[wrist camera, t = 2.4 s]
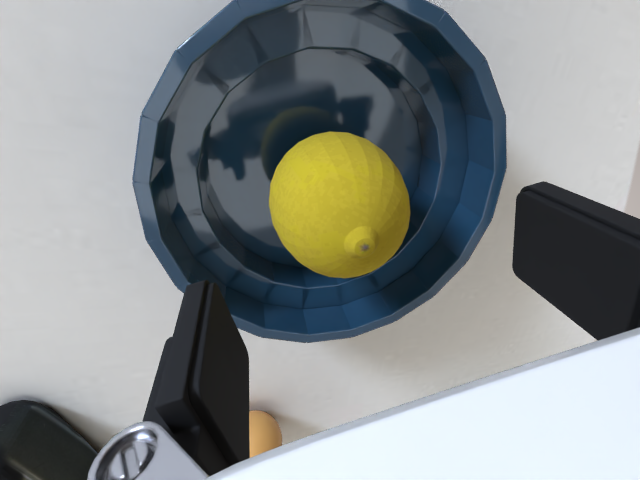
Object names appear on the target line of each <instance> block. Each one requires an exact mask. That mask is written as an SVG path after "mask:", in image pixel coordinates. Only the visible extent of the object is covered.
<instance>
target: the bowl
mask: <svg viewBox="0 0 640 480" xmlns="http://www.w3.org/2000/svg"><path fill="white" fill-rule="evenodd" d="M325 132H347V133H351V134H353V135H356V136H359V137H362V138H365V139H367V140H369V141H370V142H372V143H373V144H375V145H376V146H377V147H379V148H380V149H382V150H383V151H384V152H385V153H386V154H387V155H388V157H389V158H390V159H391V160H392V162H393V163H394V164H395V166H396V167H397V168H398V170H399V171H400V173H401V176H402V178H403V181H404V183H405V186H406V188H407V191H408V194H409V203H410V219H409V226H408V230H407V233H406V235H405V237H404V240H403V242H402V244H401V246H400V247H399V249H398V250H397V251H396V253H395V254H394V255H393V256H392V257H391V258H390V259H389V260H388V261H387V262H386V263H385V264H384V265H382V266H380V267H379V268H377V269H376V270H374V271H372V272H370V273H367V274H364V275H361V276H358V277H351V278H334V277H328V276H325V275H322V274H319V273H316V272H314V271H312V270H310V269H309V268H307V267H306V266H304V265H302V264H301V263H300V262H298V261H297V260H296V259H295V258H294V256H293V255H292V254H291V253H290V252H289V251H288V250H287V249H286V248H285V246H284V245H283V244H282V242H281V240H280V238H279V236H278V234H277V232H276V230H275V228H274V226H273V223H272V218H271V213H270V208H269V194H270V183H271V181H272V178H273V175H274V173H275V170H276V167H277V165H278V164H279V162H280V161H281V160H282V158H283V157H284V155H285V154H286V153H287V152H288V151H289V150H290V149H291V148H292V147H294V146H295V145H296V144H297V143H298V142H300V141H302V140H304V139H306V138H308V137H310V136H312V135H315V134H320V133H325ZM506 168H507V163H506V114H505V111H504V108H503V105H502V102H501V99H500V97H499V94H498V91H497V88H496V85H495V82H494V80H493V77H492V74H491V71H490V68H489V65H488V62H487V60H486V58H485V57H484V55H483V54H482V53H481V52H480V51H479V50H478V48H477V47H476V46H475V45H474V44H473V42H472V41H471V40H470V39H469V38H468V37H467V35H466V34H465V33H464V32H463V31H462V29H461V28H460V27H459V26H458V25H457V23H456V22H455V21H454V20H453V19H452V18H451V16H450V15H449V14H448V13H447V12H446V11H444V9H442V8H440V7H438V6H436V5H434V4H432V3H430V2H428V1H426V0H233V1H231V2H230V3H229V4H228V5H227V6H226V7H224V8H223V9H222V10H221V11H220V12H219V13H217V14H216V15H215V16H214V17H213V18H212V19H210V20H209V21H208V22H207V23H206V24H205V25H203V26H202V27H201V28H200V29H199V30H197V31H196V32H195V33H194V34H193V35H192V36H190V37H189V38H188V39H187V40H186V41H185V42H183V43H182V44H181V45H180V46H179V47H178V48H177V50H175V51H174V53H173V55H172V57H171V59H170V61H169V63H168V64H167V66H166V68H165V70H164V72H163V74H162V76H161V77H160V79H159V81H158V83H157V85H156V87H155V89H154V91H153V92H152V94H151V96H150V98H149V100H148V102H147V104H146V105H145V107H144V109H143V111H142V115H141V116H140V124H139V132H138V140H137V147H136V155H135V163H134V171H133V179H132V180H133V187H134V192H135V196H136V200H137V204H138V209H139V213H140V217H141V221H142V226H143V230H144V234H145V238H146V241H147V243H148V244H149V246H150V247H151V249H152V250H153V252H154V253H155V255H156V257H157V258H158V260H159V261H160V263H161V264H162V266H163V267H164V269H165V271H166V272H167V274H168V275H169V277H170V278H171V280H172V281H173V283H174V284H175V286H177V288H178V289H179V290H180V291H182V292H183V293H185V289H186V286H187V285H190V284H193V283H197V282H200V281H204V280H208V281H209V282H210V284H211V283H216V284H217V285H218V287H219V289H220V291H221V293H222V296H223V298H224V300H225V302H226V304H227V307H228V309H229V311H230V313H231V315H232V318H233V320H234V322H235V324H236V327H237V328H239V329H241V330H244V331H246V332H248V333H251V334H253V335H256V336H258V337H262V338H270V339H278V340H286V341H294V342H302V343H306V342H307V343H311V342H319V341H328V340H336V339H344V338H351V337H355V336H358V335H360V334H363V333H366V332H369V331H371V330H374V329H377V328H380V327H382V326H385V325H388V324H390V323H393V322H395V321H397V320H398V319H400V318H402V317H403V316H405V315H406V314H408V313H409V312H411V311H412V310H414V309H415V308H417V307H418V306H420V305H422V304H423V303H425V302H426V301H428V300H429V299H431V298H432V297H433V296H435V295H436V294H437V293H438V292H439V291H440V290H441V289H442V288H443V287H444V286H445V284H446V283H447V282H448V281H449V280H450V279H451V278H452V277H453V276H454V275H455V274H456V273H457V272H458V271H459V270H460V269H461V268H462V267H463V266H464V265H465V264H466V261H468V260H469V258H470V256H471V255H472V253H473V251H474V250H475V248H476V246H477V244H478V243H479V241H480V239H481V238H482V236H483V234H484V232H485V231H486V229H487V227H488V226H489V224H490V222H491V221H492V218H493V215H494V211H495V208H496V204H497V201H498V197H499V194H500V190H501V186H502V183H503V179H504V176H505V172H506Z"/></svg>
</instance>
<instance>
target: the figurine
mask: <svg viewBox="0 0 640 480" xmlns="http://www.w3.org/2000/svg"><path fill="white" fill-rule="evenodd" d="M249 441H250V458H251V457H254V456H256V455H259V454H261V453H263V452H266V451H268V450H271V449H274V448H277V447H279V446H282V434H281V430H280V427H279V425H278V423H277V422H276V420H275V419H274V418H273V417H272V416H271V415H269V414H268V413H266V412H263V411H259V410H253V411H249Z"/></svg>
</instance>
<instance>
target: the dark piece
mask: <svg viewBox="0 0 640 480" xmlns="http://www.w3.org/2000/svg"><path fill="white" fill-rule="evenodd" d="M97 455H98V453H97V452H96V451H95V450H94V449H93V448H92V447H91V446H90V445H89V443H88V442H87V441H86V440H85V439H84V438H83V437H82V436H81V435H79V434H78V433H77V432H76V431H75V430H74V429H73V428H72V427H71V426H70V425H69V424H67V423H66V422H65V421H64V420H63V419H62V418H61V417H60V416H59V415H58V414H57V413H56V412H54V411H53V410H52V409H51V408H49V407H46V406H44V405H42V404H40V403H37V402H33V401H26V400H21V401H14V402H10V403H7V404H4V405H2V406H0V480H87V478H88V472H89V470H90V468H91V465H92V463H93V461H94V459H95V458H96V456H97Z"/></svg>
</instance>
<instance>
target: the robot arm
mask: <svg viewBox="0 0 640 480" xmlns="http://www.w3.org/2000/svg"><path fill="white" fill-rule="evenodd" d="M512 267H513V271H514V273H515V275H516V276H517V277H518V278H519V279H521V280H522V281H523V282H524V283H526V284H527V285H528V286H530V287H531V288H532V289H533V290H535V291H536V292H537V293H538V294H540V295H541V296H542V297H543V298H545V299H546V300H547V301H549V302H550V303H551V304H552V305H554V306H555V307H556V308H557V309H559V310H560V311H561V312H562V313H564V314H565V315H566V316H567V317H569V318H570V319H571V320H573V321H574V322H575V323H576V324H578V325H579V326H580V327H581V328H583V329H584V330H585V331H586V332H588V333H589V334H590V335H592V336H593V337H594V338H595V339H597V340H598V341H596V342H592V343H589V344H586V345H583V346H580V347H577V348H574V349H571V350H567V351H564V352H561V353H558V354H555V355H552V356H549V357H546V358H543V359H540V360H537V361H533V362H530V363H527V364H524V365H521V366H518V367H515V368H512V369H509V370H506V371H503V372H500V373H497V374H494V375H490V376H487V377H484V378H481V379H478V380H475V381H472V382H469V383H466V384H463V385H460V386H457V387H454V388H451V389H448V390H445V391H442V392H439V393H436V394H433V395H429V396H426V397H423V398H420V399H417V400H414V401H411V402H408V403H405V404H402V405H399V406H396V407H393V408H390V409H387V410H384V411H381V412H378V413H375V414H372V415H369V416H366V417H363V418H360V419H357V420H354V421H351V422H348V423H345V424H342V425H339V426H336V427H334V428H331V429H328V430H325V431H322V432H319V433H316V434H314V435H311V436H308V437H305V438H302V439H299V440H296V441H294V442H291V443H288V444H285V445H282V446H279V447H277V448H274V449H271V450H268V451H266V452H263V453H261V454H259V455H256V456H254V457H251V458H250V441H249V357H248V352H247V349H246V346H245V344H244V342H243V340H242V338H241V335H240V333H239V331H238V329H237V327H236V324H235V322H234V320H233V318H232V315H231V313H230V311H229V309H228V307H227V304H226V302H225V300H224V298H223V296H222V293H221V291H220V289H219V287H218V285H217V284H216V283H211V284H210V282H209V281H208V280H204V281H200V282H197V283H193V284H190V285H187V286H186V289H185V293H184V297H183V300H182V304H181V308H180V312H179V315H178V319H177V323H176V326H175V330H174V334H173V337H170V338H169V339H167V341H166V343H165V346H164V349H163V352H162V356H161V359H160V363H159V366H158V370H157V373H156V377H155V380H154V384H153V387H152V391H151V394H150V397H149V401H148V404H147V408H146V411H145V415H144V418H143V422H140V423H136V424H134V425H131V426H129V427H127V428H125V429H124V430H122V431H121V432H120V433H118V434H117V435H115V436H114V437H113V438H112V439H111V440H110V441H109V442H108V443H107V444H106V445H105V446H104V447H103V448H102V449H101V451H100V452H99V454H98V455H97V456H96V458H95V459H94V461H93V463H92V465H91V468H90V470H89V472H88V478H87V480H640V219H638V218H636V217H633V216H631V215H628V214H626V213H623V212H621V211H618V210H616V209H613V208H610V207H608V206H605V205H603V204H600V203H598V202H595V201H593V200H590V199H588V198H585V197H583V196H580V195H578V194H575V193H573V192H570V191H568V190H565V189H563V188H560V187H558V186H555V185H553V184H550V183H548V182H540V183H536V184H533V185H529V186H526V187H524V188H522V190H521V192H520V193H519V194H518V195H517V199H516V213H515V230H514V247H513V263H512Z"/></svg>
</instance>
